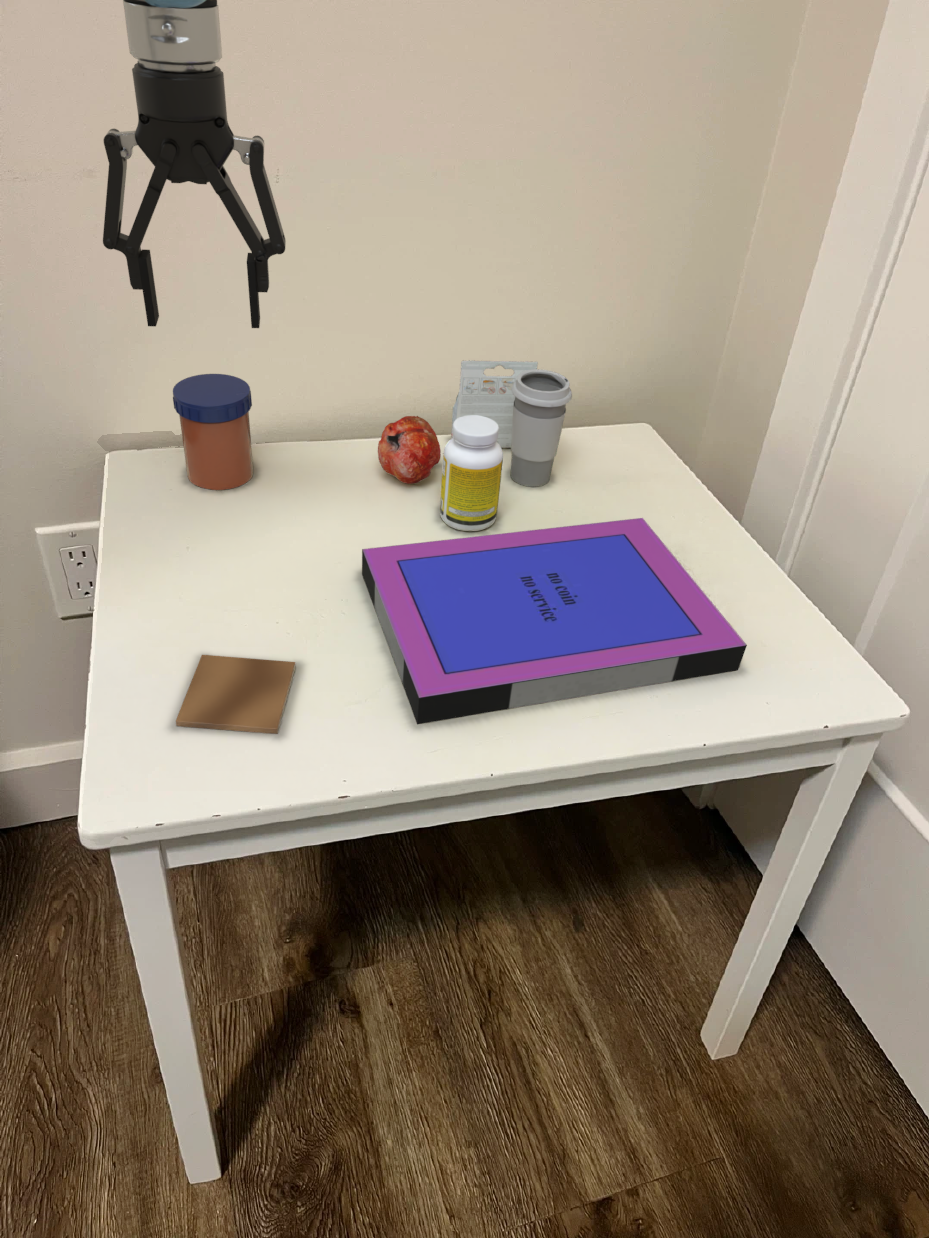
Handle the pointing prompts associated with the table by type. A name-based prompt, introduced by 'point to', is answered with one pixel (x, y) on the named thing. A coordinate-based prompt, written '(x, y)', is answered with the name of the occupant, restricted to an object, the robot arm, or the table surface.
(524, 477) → the cup
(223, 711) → the cork mat
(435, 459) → the pomegranate
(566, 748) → the table surface
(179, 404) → the lid
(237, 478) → the jar
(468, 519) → the pill bottle
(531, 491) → the table surface
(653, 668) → the book
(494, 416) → the ink box
